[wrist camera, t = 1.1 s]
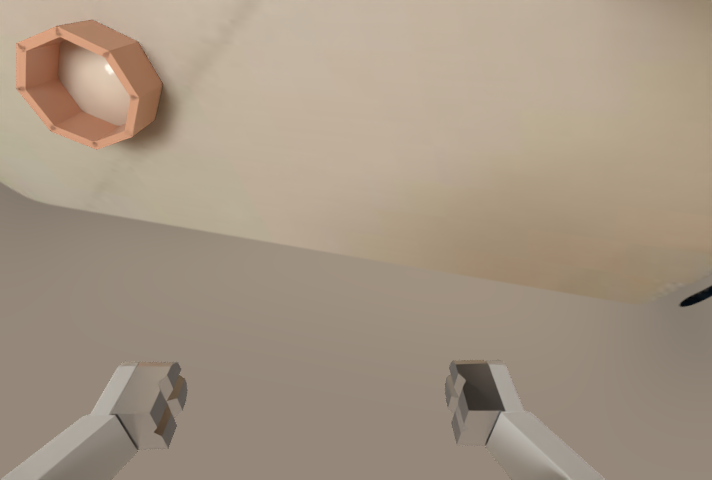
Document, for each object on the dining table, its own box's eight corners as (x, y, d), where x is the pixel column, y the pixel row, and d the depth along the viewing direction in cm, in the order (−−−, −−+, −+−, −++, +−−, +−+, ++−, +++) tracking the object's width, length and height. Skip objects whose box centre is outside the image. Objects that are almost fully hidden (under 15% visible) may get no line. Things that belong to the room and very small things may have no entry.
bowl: (58, 3, 39) (16, 7, 34) (168, 56, 42) (145, 67, 37) (52, 101, 44) (16, 117, 39) (150, 142, 47) (127, 162, 43)
